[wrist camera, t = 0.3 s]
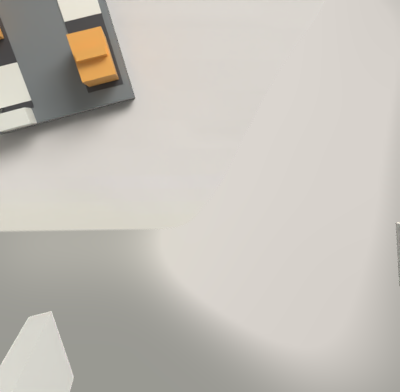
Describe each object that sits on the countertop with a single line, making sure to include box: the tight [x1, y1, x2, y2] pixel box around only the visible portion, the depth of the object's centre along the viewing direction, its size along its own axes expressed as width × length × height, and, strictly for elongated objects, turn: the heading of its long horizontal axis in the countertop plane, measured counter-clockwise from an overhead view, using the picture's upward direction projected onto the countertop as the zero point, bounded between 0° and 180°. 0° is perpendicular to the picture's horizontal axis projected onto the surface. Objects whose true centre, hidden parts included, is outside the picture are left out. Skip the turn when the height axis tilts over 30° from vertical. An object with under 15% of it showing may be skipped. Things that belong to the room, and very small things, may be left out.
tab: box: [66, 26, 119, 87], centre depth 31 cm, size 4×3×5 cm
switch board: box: [0, 0, 135, 134], centre depth 32 cm, size 16×14×4 cm
